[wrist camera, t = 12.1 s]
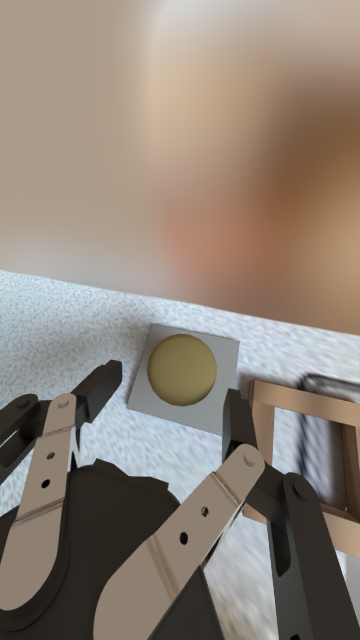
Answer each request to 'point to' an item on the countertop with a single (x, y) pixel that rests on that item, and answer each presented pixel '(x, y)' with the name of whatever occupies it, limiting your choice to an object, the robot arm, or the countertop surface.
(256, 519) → the walnut socket
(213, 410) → the slate pad
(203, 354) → the cork
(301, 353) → the countertop surface
